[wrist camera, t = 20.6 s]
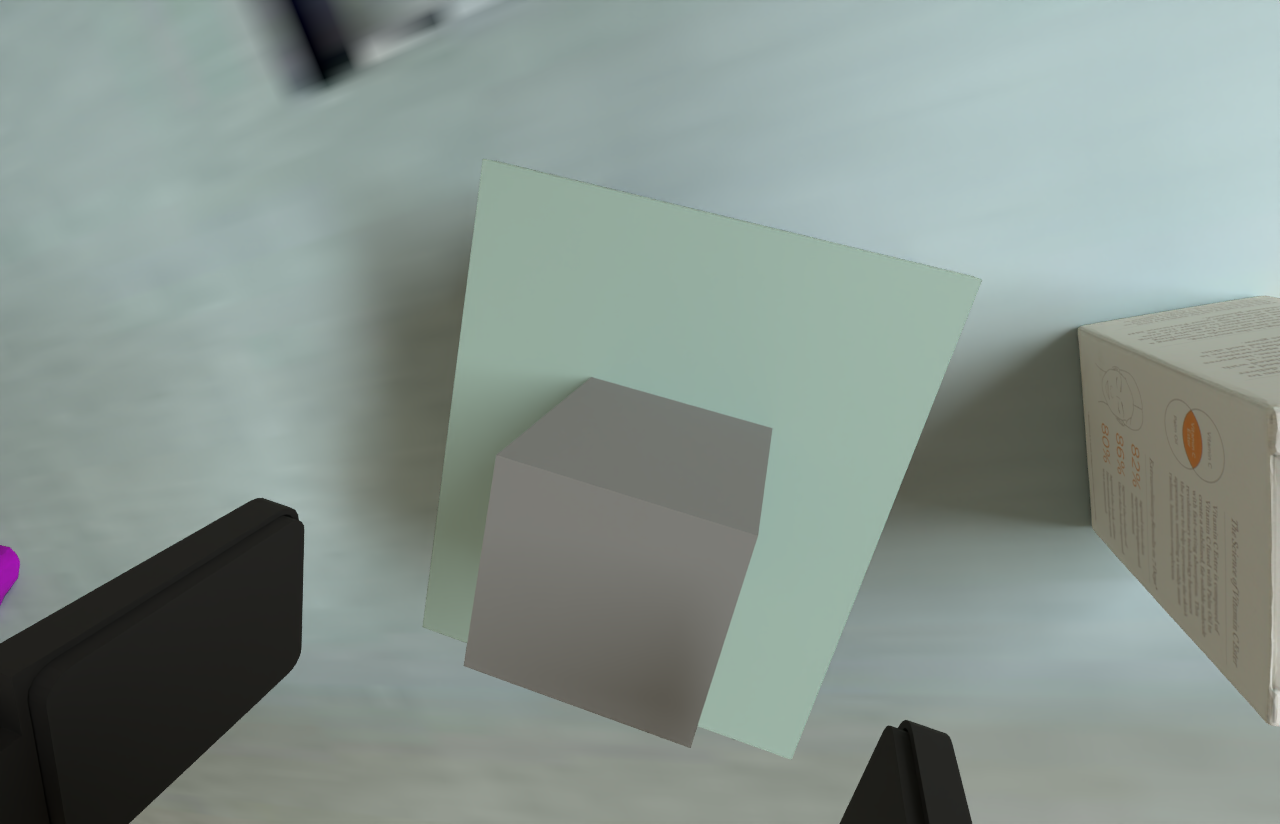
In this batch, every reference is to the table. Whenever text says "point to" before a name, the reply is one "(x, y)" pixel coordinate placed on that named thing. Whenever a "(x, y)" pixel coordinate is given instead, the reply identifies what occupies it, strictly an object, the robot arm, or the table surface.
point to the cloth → (8, 569)
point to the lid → (703, 396)
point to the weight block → (618, 554)
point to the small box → (1194, 474)
